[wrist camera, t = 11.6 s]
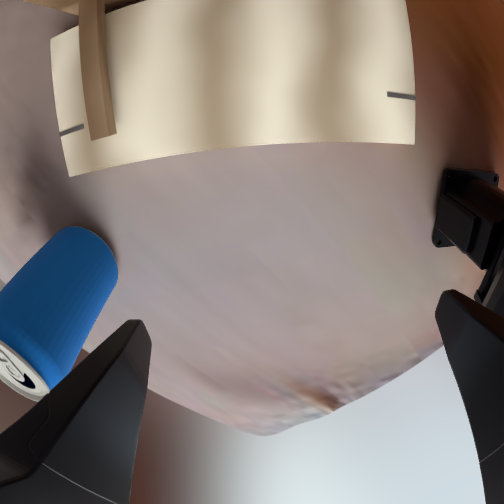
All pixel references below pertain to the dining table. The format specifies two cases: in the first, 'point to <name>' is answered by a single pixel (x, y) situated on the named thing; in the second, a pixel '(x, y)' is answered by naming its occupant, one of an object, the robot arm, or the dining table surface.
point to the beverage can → (53, 309)
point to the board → (240, 77)
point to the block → (92, 60)
